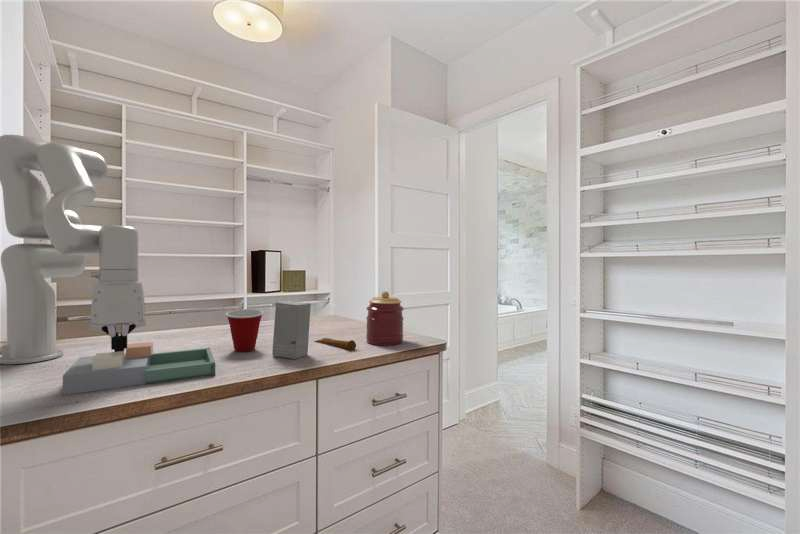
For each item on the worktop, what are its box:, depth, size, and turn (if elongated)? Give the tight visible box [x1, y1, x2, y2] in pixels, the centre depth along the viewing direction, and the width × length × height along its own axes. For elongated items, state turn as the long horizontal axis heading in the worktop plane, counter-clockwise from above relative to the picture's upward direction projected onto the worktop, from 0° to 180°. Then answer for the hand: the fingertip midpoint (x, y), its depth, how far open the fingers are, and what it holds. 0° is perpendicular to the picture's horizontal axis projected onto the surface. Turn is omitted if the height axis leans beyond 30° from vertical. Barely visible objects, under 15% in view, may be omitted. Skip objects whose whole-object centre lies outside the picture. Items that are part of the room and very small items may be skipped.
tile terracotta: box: [125, 341, 154, 359], centre depth 92 cm, size 5×5×2 cm
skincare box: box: [272, 300, 312, 360], centre depth 109 cm, size 8×7×16 cm
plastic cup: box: [225, 308, 264, 353], centre depth 114 cm, size 11×11×12 cm
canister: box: [365, 291, 405, 346], centre depth 128 cm, size 13×13×18 cm
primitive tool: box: [314, 337, 357, 352], centre depth 123 cm, size 19×6×4 cm, turn 46°
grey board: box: [62, 352, 150, 396], centre depth 86 cm, size 14×16×4 cm
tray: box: [145, 347, 216, 385], centre depth 93 cm, size 14×17×3 cm
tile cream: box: [92, 350, 125, 370], centre depth 82 cm, size 5×5×2 cm
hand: (119, 351), depth 90 cm, fingers closed
